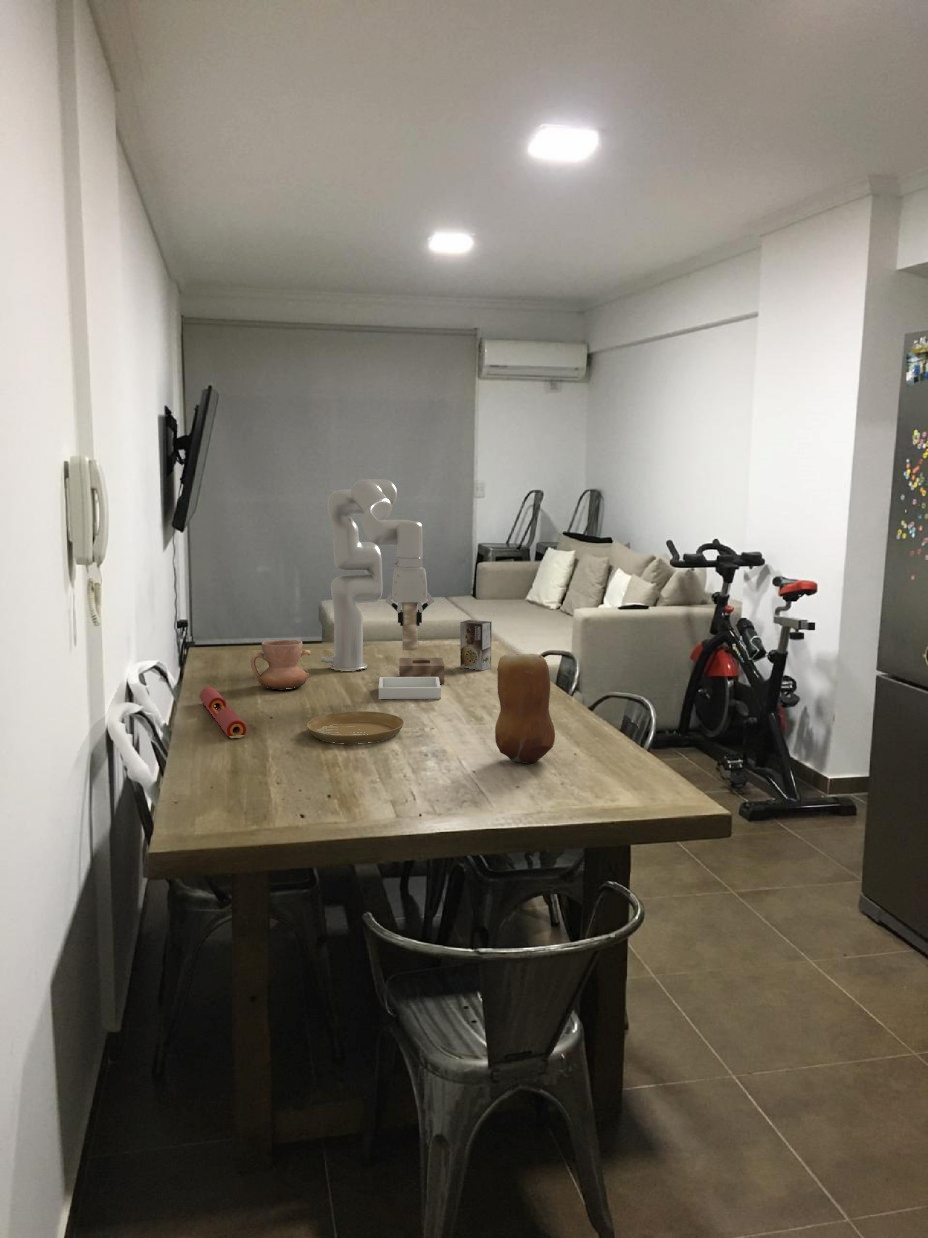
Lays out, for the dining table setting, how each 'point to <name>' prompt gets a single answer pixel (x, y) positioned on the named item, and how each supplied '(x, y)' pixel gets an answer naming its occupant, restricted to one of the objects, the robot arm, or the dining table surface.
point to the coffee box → (475, 644)
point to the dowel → (409, 626)
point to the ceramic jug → (281, 664)
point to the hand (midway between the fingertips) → (409, 624)
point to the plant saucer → (357, 726)
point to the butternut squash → (524, 708)
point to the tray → (409, 688)
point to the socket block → (422, 667)
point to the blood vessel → (222, 712)
